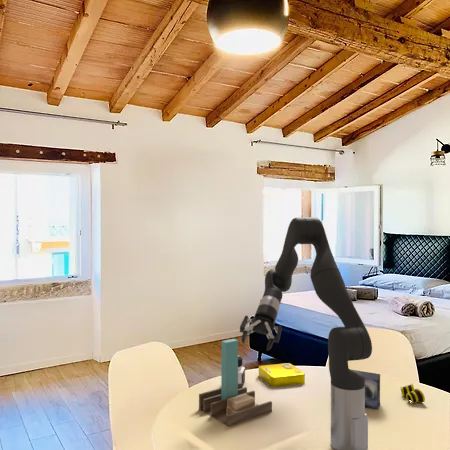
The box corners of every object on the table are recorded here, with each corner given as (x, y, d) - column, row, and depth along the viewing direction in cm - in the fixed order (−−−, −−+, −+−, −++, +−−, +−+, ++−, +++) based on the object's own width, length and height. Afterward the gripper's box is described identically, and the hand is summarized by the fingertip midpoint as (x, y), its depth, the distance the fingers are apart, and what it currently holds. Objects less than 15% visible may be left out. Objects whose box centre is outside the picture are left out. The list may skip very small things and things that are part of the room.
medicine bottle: (242, 392, 163) (242, 359, 163) (223, 390, 165) (223, 358, 165) (245, 385, 170) (245, 354, 170) (226, 383, 172) (227, 353, 172)
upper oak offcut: (254, 405, 141) (254, 397, 141) (236, 411, 136) (236, 403, 136) (245, 401, 144) (245, 393, 144) (227, 407, 140) (227, 399, 140)
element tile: (256, 376, 182) (256, 364, 182) (289, 372, 187) (289, 361, 187) (271, 388, 168) (271, 376, 168) (306, 384, 172) (306, 372, 172)
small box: (345, 404, 152) (345, 374, 152) (349, 398, 158) (349, 368, 158) (377, 410, 147) (377, 379, 147) (380, 403, 153) (380, 373, 153)
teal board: (237, 406, 146) (238, 340, 146) (225, 410, 143) (226, 342, 143) (233, 404, 148) (233, 338, 148) (221, 407, 145) (221, 341, 145)
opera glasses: (400, 397, 161) (397, 383, 162) (414, 394, 161) (412, 380, 161) (411, 407, 152) (408, 393, 152) (426, 404, 152) (423, 390, 152)
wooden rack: (272, 416, 142) (272, 395, 142) (228, 431, 131) (228, 409, 131) (240, 400, 155) (240, 382, 155) (198, 413, 144) (198, 393, 144)
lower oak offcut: (257, 412, 141) (257, 405, 141) (236, 420, 136) (236, 412, 136) (247, 407, 145) (247, 400, 145) (226, 414, 140) (226, 406, 140)
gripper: (249, 298, 161) (235, 332, 149) (287, 309, 157) (276, 344, 145) (248, 312, 166) (235, 346, 154) (285, 322, 162) (274, 358, 150)
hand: (255, 345), depth 149 cm, fingers open, 8 cm apart
